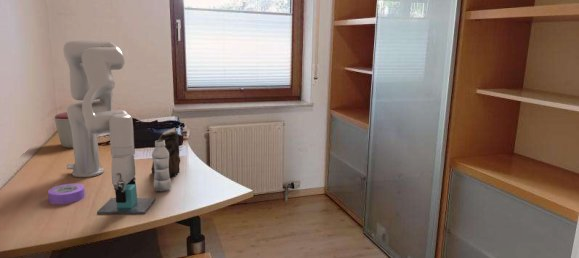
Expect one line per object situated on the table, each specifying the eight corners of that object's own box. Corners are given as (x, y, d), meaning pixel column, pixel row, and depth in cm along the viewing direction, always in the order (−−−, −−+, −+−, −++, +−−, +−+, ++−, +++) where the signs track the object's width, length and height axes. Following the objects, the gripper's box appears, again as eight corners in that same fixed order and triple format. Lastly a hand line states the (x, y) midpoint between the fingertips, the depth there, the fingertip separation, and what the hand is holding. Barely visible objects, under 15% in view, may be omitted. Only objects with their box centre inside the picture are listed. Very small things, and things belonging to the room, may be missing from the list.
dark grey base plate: (97, 214, 136) (95, 196, 134) (111, 200, 147) (110, 183, 146) (144, 214, 136) (143, 196, 135) (155, 200, 148) (154, 184, 147)
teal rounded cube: (117, 207, 139) (115, 189, 138) (122, 201, 144) (121, 184, 143) (132, 207, 139) (130, 189, 138) (137, 201, 144) (135, 184, 143)
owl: (178, 168, 185) (176, 125, 180) (188, 176, 174) (186, 131, 170) (150, 172, 178) (148, 128, 173) (158, 181, 167) (156, 134, 163)
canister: (83, 150, 211) (79, 111, 206) (49, 149, 211) (44, 110, 206) (99, 141, 229) (96, 105, 224) (68, 141, 229) (64, 104, 224)
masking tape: (76, 190, 157) (75, 181, 156) (90, 198, 150) (89, 188, 149) (44, 199, 148) (42, 189, 147) (57, 207, 141) (55, 197, 140)
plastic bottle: (162, 194, 153) (159, 144, 149) (150, 190, 157) (147, 141, 152) (175, 189, 159) (172, 140, 154) (163, 186, 162) (160, 138, 158)
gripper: (121, 143, 146) (124, 187, 149) (101, 157, 129) (105, 207, 133) (142, 143, 146) (145, 187, 150) (124, 157, 129) (128, 207, 133)
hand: (126, 196), depth 141 cm, fingers open, 9 cm apart
